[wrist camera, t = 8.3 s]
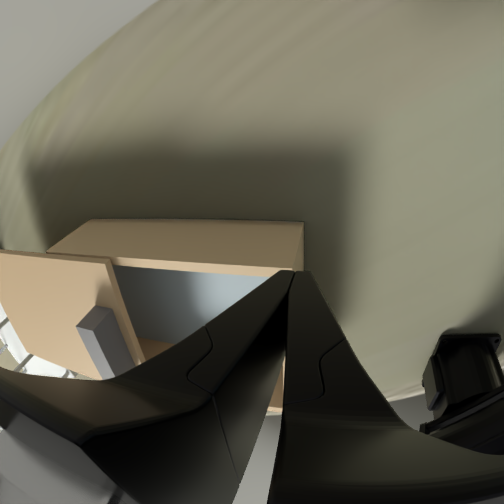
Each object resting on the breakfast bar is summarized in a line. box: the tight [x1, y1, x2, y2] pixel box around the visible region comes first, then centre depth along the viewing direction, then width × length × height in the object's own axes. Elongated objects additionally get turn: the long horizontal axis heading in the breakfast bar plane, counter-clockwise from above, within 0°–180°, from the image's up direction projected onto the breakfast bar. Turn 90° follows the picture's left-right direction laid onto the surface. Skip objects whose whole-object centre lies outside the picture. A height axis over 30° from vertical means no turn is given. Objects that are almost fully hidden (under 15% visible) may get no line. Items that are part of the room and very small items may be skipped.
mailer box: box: [46, 219, 304, 412], centre depth 24 cm, size 18×13×6 cm
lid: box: [0, 249, 146, 380], centre depth 23 cm, size 18×13×3 cm
